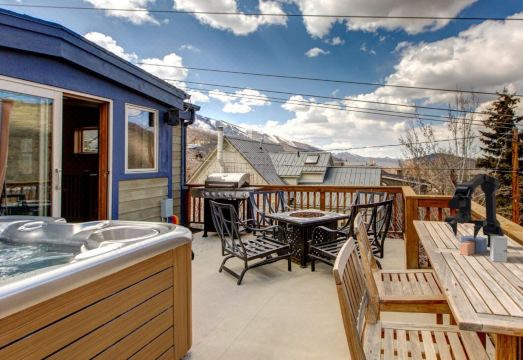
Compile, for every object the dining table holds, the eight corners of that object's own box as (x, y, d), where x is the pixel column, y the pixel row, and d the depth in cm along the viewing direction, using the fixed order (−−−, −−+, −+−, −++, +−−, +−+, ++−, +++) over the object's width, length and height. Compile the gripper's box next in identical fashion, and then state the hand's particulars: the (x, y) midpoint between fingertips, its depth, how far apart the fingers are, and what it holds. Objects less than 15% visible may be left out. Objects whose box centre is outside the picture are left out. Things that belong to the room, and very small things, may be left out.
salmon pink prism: (470, 250, 180) (470, 239, 180) (477, 251, 177) (477, 240, 177) (460, 254, 172) (460, 243, 172) (467, 255, 170) (467, 244, 169)
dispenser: (466, 248, 184) (466, 235, 184) (486, 251, 176) (486, 238, 176) (460, 250, 180) (460, 237, 180) (481, 254, 172) (481, 240, 172)
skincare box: (493, 261, 159) (493, 237, 158) (489, 259, 163) (489, 235, 163) (507, 262, 157) (507, 237, 156) (504, 259, 161) (504, 235, 161)
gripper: (439, 207, 174) (439, 236, 175) (478, 211, 159) (478, 242, 159) (449, 206, 180) (449, 233, 181) (487, 208, 165) (487, 239, 166)
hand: (465, 237), depth 172 cm, fingers open, 9 cm apart
